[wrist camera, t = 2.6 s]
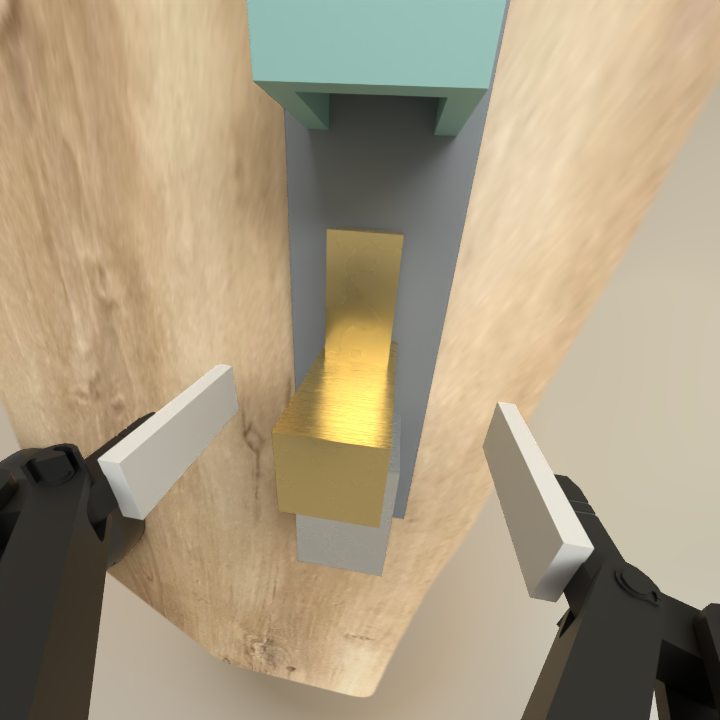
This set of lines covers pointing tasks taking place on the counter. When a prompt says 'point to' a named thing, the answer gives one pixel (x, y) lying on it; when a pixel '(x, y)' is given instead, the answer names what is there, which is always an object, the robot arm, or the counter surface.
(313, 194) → the slate board
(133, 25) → the counter surface
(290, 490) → the gold stepped block
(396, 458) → the grey rectangular sleeve
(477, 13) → the socket
